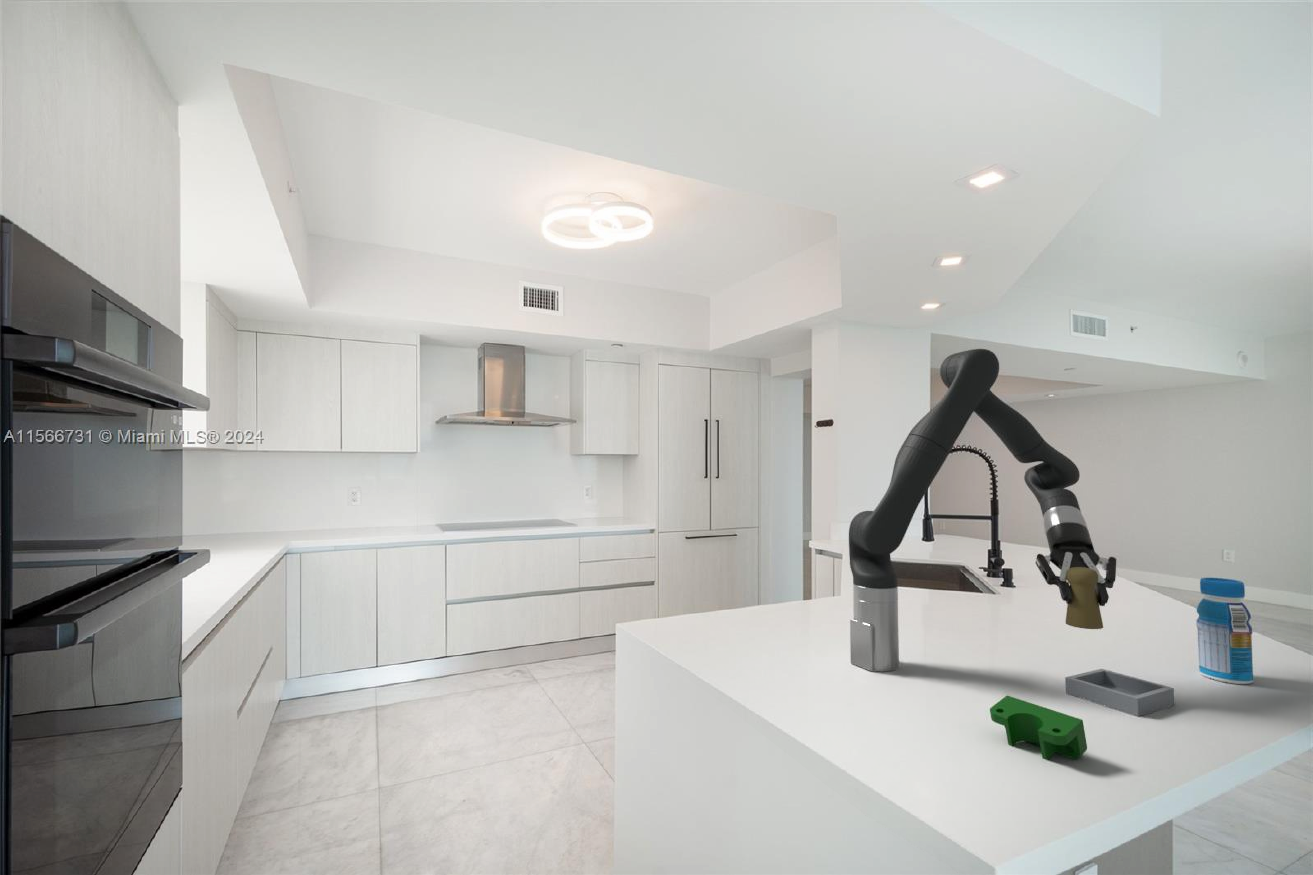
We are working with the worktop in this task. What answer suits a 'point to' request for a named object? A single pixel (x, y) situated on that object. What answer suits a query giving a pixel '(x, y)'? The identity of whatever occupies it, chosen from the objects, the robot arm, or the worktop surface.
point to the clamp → (1040, 727)
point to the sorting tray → (1120, 691)
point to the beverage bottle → (1224, 632)
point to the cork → (1083, 599)
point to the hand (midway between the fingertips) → (1086, 602)
